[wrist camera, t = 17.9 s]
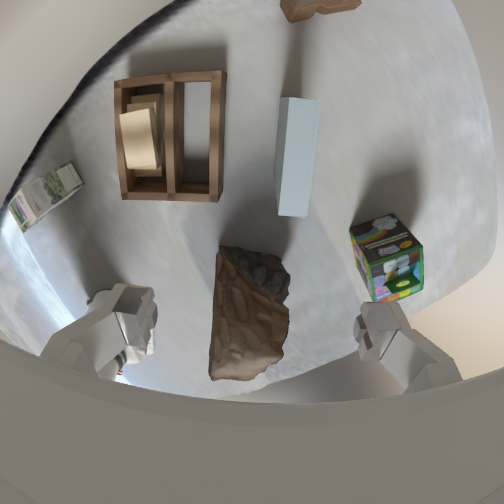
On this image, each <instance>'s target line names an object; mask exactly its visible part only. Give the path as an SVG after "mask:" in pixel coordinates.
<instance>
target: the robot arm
mask: <svg viewBox="0 0 504 504" xmlns="http://www.w3.org/2000/svg"><path fill="white" fill-rule="evenodd" d="M154 296H155V295H154V291H153V289H152V288H150V287H143V286H136V285H130V284H129V285H128V284H122V283H117V284H115V285H114V287H113V289H112V290H111V291H110V290H103V291H100V292H98V293H96V295H95V296H94V298H93V301H92V302H91V303H89V304H88V305H87V308H86V309H87V313H86V315H85V316H83V317H82V318H80V319H78V320H76V321H75V322H73V323H71V324H70V325H68V326H66V327H64V328H63V329H61V330H59V331H58V332H56V333H54V334H53V335H52V336H51V338H50V340H49V341H48V343H47V345H46V346H45V348H44V350H43V351H42V353H41V355H40V357H39V356H37V355H35V354H32V353H30V352H28V351H25V350H23V349H21V348H19V347H16V346H14V345H12V344H10V343H8V342H6V341H4V340H2V339H0V504H504V367H503V368H500V369H497V370H495V371H492V372H489V373H486V374H483V375H480V376H477V377H474V378H470V379H467V380H463V379H462V377H461V375H460V373H459V371H458V368H457V366H456V364H455V362H454V360H453V358H451V357H450V356H449V355H448V354H446V353H445V352H444V351H443V350H441V349H440V348H439V347H437V346H436V345H435V344H434V343H432V342H431V341H430V340H428V339H427V338H426V337H424V336H423V335H422V334H421V333H419V332H418V331H417V330H415V329H411V327H410V324H409V322H408V320H407V318H406V316H405V314H404V312H403V311H402V309H401V307H400V305H399V303H398V302H364V303H363V304H362V305H361V308H360V311H361V314H360V315H359V316H358V317H356V320H355V323H354V329H353V331H354V337H355V340H356V341H357V342H358V343H359V344H360V345H359V347H358V351H359V354H360V358H361V361H378V360H380V362H381V363H382V365H383V366H384V367H385V368H386V369H387V370H388V371H389V372H390V373H391V375H392V376H393V377H394V378H395V379H396V380H397V381H398V382H399V384H400V385H401V386H402V387H403V388H404V389H405V391H404V393H403V394H401V395H395V396H388V397H381V398H374V399H365V400H355V401H343V402H330V403H329V402H328V403H304V404H303V403H300V404H282V403H281V404H279V403H250V402H236V401H224V400H215V399H206V398H198V397H191V396H184V395H177V394H171V393H166V392H160V391H155V390H150V389H145V388H141V387H136V386H132V385H127V384H123V383H119V382H115V378H116V375H117V374H118V375H122V374H119V373H123V371H120V370H121V369H122V368H123V367H124V365H125V364H136V363H139V362H140V361H141V359H142V357H143V355H150V354H153V352H154V327H155V324H156V322H157V315H158V314H157V305H156V304H155V302H154V301H153V298H154ZM118 372H119V373H118Z"/></svg>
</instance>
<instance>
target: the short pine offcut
mask: <svg viewBox="0 0 504 504" xmlns="http://www.w3.org/2000/svg"><path fill="white" fill-rule="evenodd" d="M119 117H120V124H121V131H122V138H123V145H124V151H125V157H126V162H127V168H134V167H140V166H148V165H155V164H157V163H159V162H160V161H161V157H160V150H159V142H158V135H157V127H156V118H155V109H154V108H148V109H143V110H138V111H134V112H129V113H125V114H121V115H119Z"/></svg>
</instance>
